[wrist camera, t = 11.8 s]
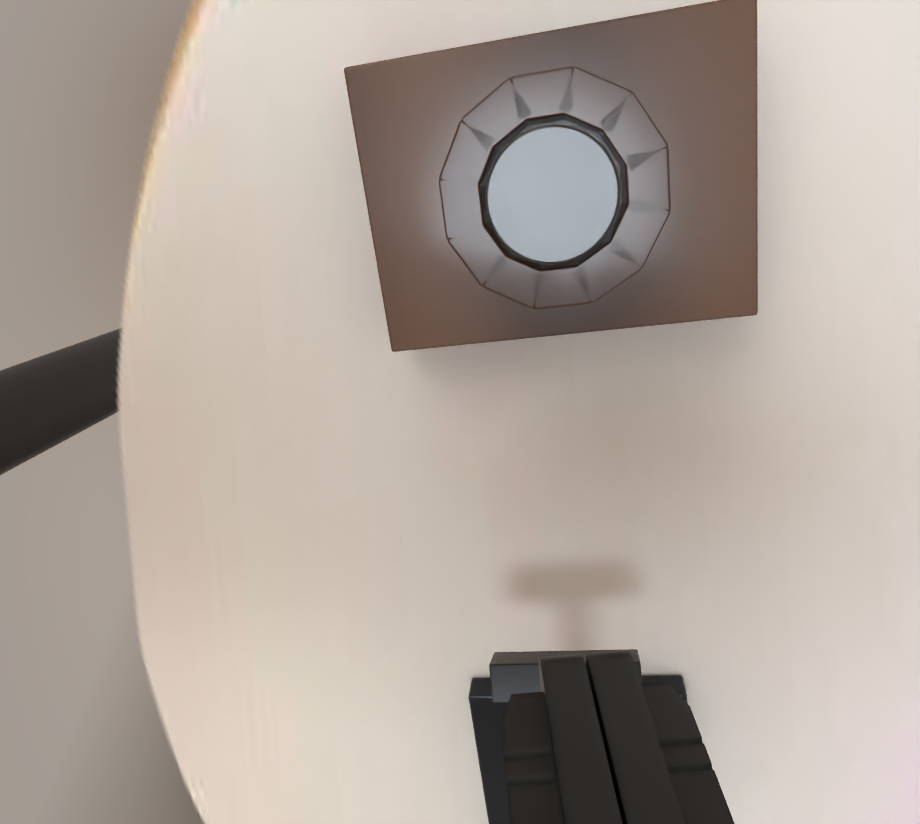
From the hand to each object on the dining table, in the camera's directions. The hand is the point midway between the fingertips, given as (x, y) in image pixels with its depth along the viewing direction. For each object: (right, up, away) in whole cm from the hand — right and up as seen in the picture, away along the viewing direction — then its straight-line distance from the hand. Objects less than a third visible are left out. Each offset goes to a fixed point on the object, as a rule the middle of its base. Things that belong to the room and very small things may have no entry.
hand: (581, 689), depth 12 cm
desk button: (+1, +11, +9) cm, 14 cm away
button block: (+1, +12, +12) cm, 17 cm away
